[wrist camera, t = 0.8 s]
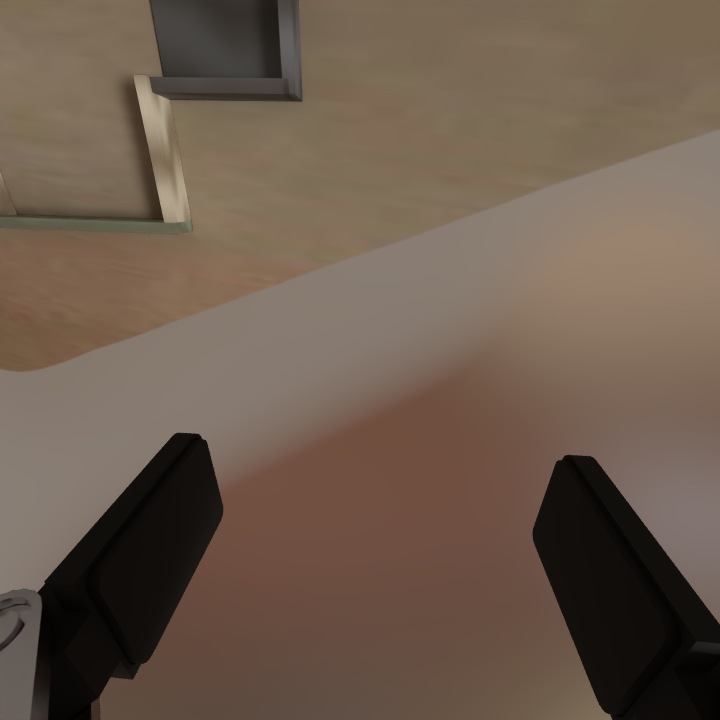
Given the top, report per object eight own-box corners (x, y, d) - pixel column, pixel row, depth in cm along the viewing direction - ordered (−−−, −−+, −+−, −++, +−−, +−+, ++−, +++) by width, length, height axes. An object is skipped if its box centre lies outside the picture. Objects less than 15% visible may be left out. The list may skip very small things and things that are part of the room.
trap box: (-369, -316, 23) (-471, -384, 20) (284, -361, 20) (267, -446, 17) (-92, 220, 37) (-129, 222, 35) (307, 235, 35) (300, 238, 32)
